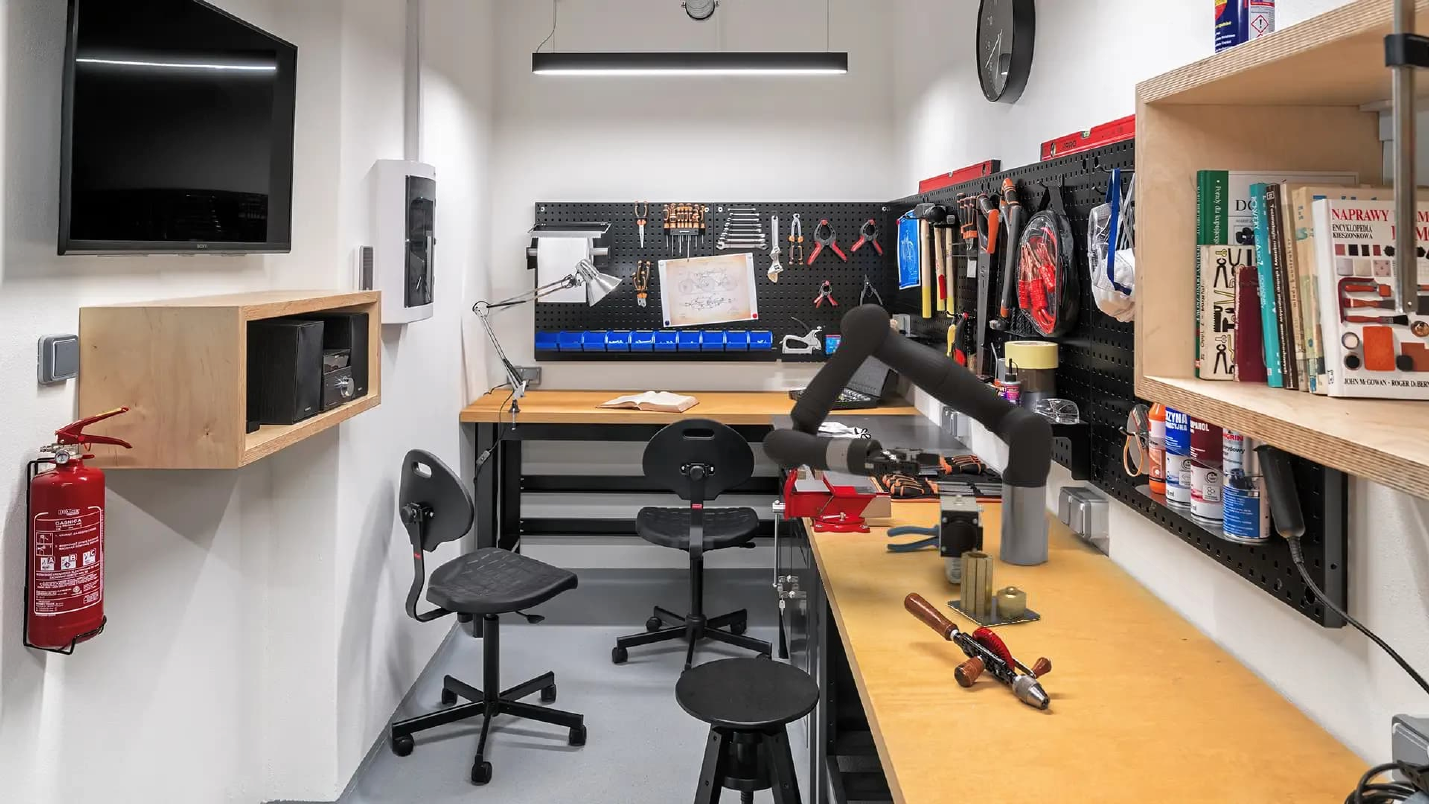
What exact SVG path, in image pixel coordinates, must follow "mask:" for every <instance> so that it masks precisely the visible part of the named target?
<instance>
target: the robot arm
mask: <svg viewBox="0 0 1429 804" xmlns="http://www.w3.org/2000/svg"><path fill="white" fill-rule="evenodd" d="M839 327H840V333H841V335H842V338H841V340H840V342H839V344H838V346H837V347H836V348H835V350H834V352H833V354H832V355H831V356H830V357H829V359H828V360H827V361H826V362H825V364H824V365H823V366H822V368H821V369H820V370H819V371H818V372H817V374H816V375H815V376H814V377H813V378H812V379H811V381H810V382H809V383H808V384H807V386H806V387H805V389H804V391H803V392H802V393H801V394H800V396H799V398H797V401H796V402H795V404H794V405H793V407H792V409H791V410H790V415H789V416H790V418H791V421H792V428H791V429H790V428H776V429H774V430H772V431H769V433H767V434H766V435H765V437H764V438H763V440H762V450H763V452H764V454H765V456H766V457H767V458H768V459H769V460H771V461H772V462H773V463H774V464H776V465H777V466H778V467H780V468H781V469H783V470H786V471H788V472H789V471H790V472H791V471H796V470H797V469H799V468H800V467H802V466H803V465H805V466H807V467H809V468H810V469H813V470H818V471H825V472H832V473H833V472H834V473H837V474H842V475H848V476H849V475H850V476H857V477H858V476H859V477H866V478H867V477H868V478H874V477H876V476H877V475H878V474H882V475H883V474H884V475H889V476H892V475H893V474H894V473H895V474H900V473H907V474H915V475H918V474H920V473H922V472H921V470H922V465H927V466H939V465H940V464H941V463H940V462H941V455H940V454H939V453H932V452H924V449H923V448H912V447H899V446H896V447H889V448H886V450H884V448H883V447H882V444H881V442H880V441H878V440H877V439H874V438H865V437H864V438H862V437H861V438H860V437H851V436H840V437H839V436H838V437H835V436H826V435H825V436H824V435H823V436H822V435H818V433H819V429H820V428H821V426H822V425H823V423H824V422H825V421H826V418H827V417H828V415H829V414H830V412H831V411H832V409H833V408H834V406H835V404H836V403H837V401H838V400H839V398H840V397H841V395H842V393H844V390H845V389H846V387H847V386H848V384H849V383H850V382H851V379H852V378H853V377H854V376H855V374H856V373H857V372H858V370H859V369H860V368H861V366H862V365H863V364H865V363H864V362H866V360H867V359H868V358H869V356H870V357H873V358H874V359H876V360H878V361H880V362H882V363H884V364H886V365H887V366H888V367H890V368H892V369H893V370H894V371H896V372H897V373H898V374H899V375H901V376H902V377H903V378H905V379H906V380H908V381H909V382H911V383H912V384H913V385H915V386H916V387H918V388H919V389H920V390H921V391H923V392H924V393H925V394H928V395H929V396H931V397H932V398H934V399H936V400H937V401H938V402H940V403H942V404H943V405H945V406H947V407H948V408H951V409H952V410H954V411H957V412H958V413H960V414H963V415H965V416H968V417H969V418H972V419H973V420H975V421H977V422H978V423H980V424H981V425H982V426H984V427H985V428H986V429H988V430H989V431H990V432H991V433H993V434H994V435H995V436H996V437H997V438H999V439H1000V440H1001V441H1002V443H1004V444H1006V446H1008V459H1007V466H1006V467H1005V468H1004V469H1003V471H1002V483H1001V487H1002V488H1001V510H1000V511H1001V514H1000V515H1001V517H1000V543H999V545H1000V547H999V558H1000V560H1001V561H1003V562H1005V563H1008V564H1013V565H1018V566H1036V565H1040V564H1042V563H1044V562H1048V558H1049V534H1050V519H1049V518H1048V517H1046V512H1047V509H1046V508H1047V506H1046V505H1047V485H1048V484H1047V482H1048V476H1049V474H1050V472H1051V466H1052V454H1053V453H1052V452H1053V428H1052V424H1051V423H1050V421H1049V420H1048V419H1047V418H1046V417H1045V416H1044V415H1043V414H1040V413H1038V412H1035V411H1032V410H1030V409H1027V408H1025V407H1022V406H1021V405H1018V404H1016V403H1014V402H1012V401H1010V400H1009V399H1006V397H1005V398H1004V397H1002V396H1001V395H1000V394H997V392H995V391H994V390H993V389H991V388H990V387H989V386H988V385H987V384H986V383H985V382H984V381H983V380H982V379H981V378H979V376H978V375H976V374H975V373H974V372H973V371H971V370H970V369H969V368H967V367H966V366H965V365H963V364H961V363H960V362H958V361H957V360H956V359H955V358H953V357H952V356H950V355H947V354H946V353H944V352H942V351H940V350H937V349H935V348H933V347H930V346H929V345H928V346H927V345H925V344H922V343H919V342H918V341H916V340H912V339H910V338H908V337H907V336H905V335H903V334H901V333H900V332H898V331H897V330H896V329H894V328H893V327H892V326H891V318H890V315H889V313H888V312H887V310H886V309H885V308H884V307H882V306H880V305H878V304H875V303H864V304H860V305H858V306H856V307H854V308H851V309H850V310H848V311H847V312H846V313H845V314H844V315H843V316H842V318H841V320H840V326H839ZM913 455H915V457H913Z"/></svg>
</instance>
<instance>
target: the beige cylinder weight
mask: <svg viewBox="0 0 1429 804" xmlns="http://www.w3.org/2000/svg"><path fill="white" fill-rule="evenodd" d="M996 595H997V598H996V614H997V615H998V616H999V617H1002V618H1005V619H1012V620H1018V619H1023V618H1025V617H1026V608H1027V593H1026V592H1025V591H1023V590H1019V589H1018V587H1016V586H1010V585H1009V586H1005V588H1001V589H998V590H997V591H996Z"/></svg>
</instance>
